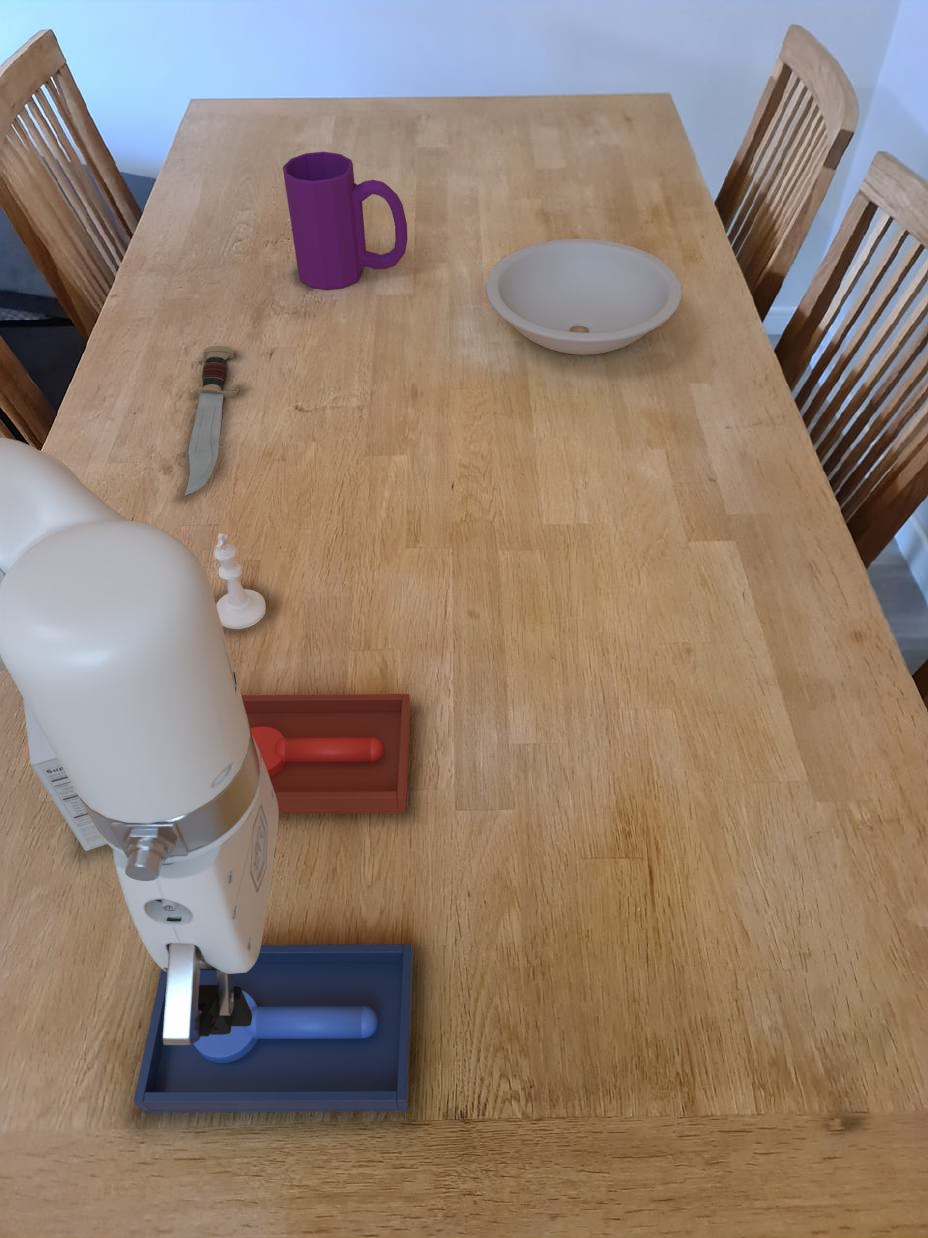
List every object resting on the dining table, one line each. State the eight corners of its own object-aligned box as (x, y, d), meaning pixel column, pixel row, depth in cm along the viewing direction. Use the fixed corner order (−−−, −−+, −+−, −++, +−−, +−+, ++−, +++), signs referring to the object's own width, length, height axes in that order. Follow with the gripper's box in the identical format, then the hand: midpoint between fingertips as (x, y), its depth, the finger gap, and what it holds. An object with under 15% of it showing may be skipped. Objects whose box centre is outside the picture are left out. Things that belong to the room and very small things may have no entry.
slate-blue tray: (143, 1114, 63) (133, 1102, 61) (175, 960, 70) (166, 945, 68) (408, 1113, 63) (406, 1101, 61) (413, 959, 70) (411, 943, 68)
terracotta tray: (191, 816, 78) (184, 799, 76) (213, 713, 85) (207, 695, 83) (406, 814, 78) (404, 797, 76) (410, 711, 84) (409, 693, 83)
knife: (219, 492, 103) (171, 489, 103) (220, 503, 104) (173, 500, 104) (245, 346, 121) (204, 342, 120) (246, 357, 122) (205, 353, 121)
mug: (303, 258, 138) (288, 150, 127) (412, 259, 137) (406, 151, 126) (293, 292, 132) (276, 181, 121) (407, 293, 131) (400, 182, 120)
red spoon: (386, 733, 82) (384, 719, 81) (383, 780, 79) (381, 766, 77) (237, 734, 82) (233, 720, 81) (228, 781, 79) (224, 767, 78)
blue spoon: (381, 993, 67) (379, 982, 66) (377, 1063, 64) (374, 1053, 63) (200, 994, 67) (193, 983, 66) (187, 1064, 64) (180, 1053, 63)
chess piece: (206, 626, 91) (182, 550, 84) (227, 589, 95) (205, 512, 87) (255, 635, 91) (235, 559, 83) (275, 598, 94) (257, 521, 86)
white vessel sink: (462, 369, 119) (461, 321, 114) (513, 273, 134) (514, 227, 130) (656, 401, 114) (664, 352, 109) (687, 298, 129) (695, 251, 125)
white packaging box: (73, 780, 80) (19, 685, 71) (163, 753, 82) (122, 657, 72) (83, 855, 76) (26, 765, 66) (178, 825, 77) (137, 733, 68)
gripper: (224, 965, 37) (284, 1097, 50) (280, 621, 48) (318, 801, 61) (25, 964, 37) (137, 1096, 50) (129, 621, 48) (198, 801, 61)
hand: (237, 933), depth 55 cm, fingers open, 9 cm apart
